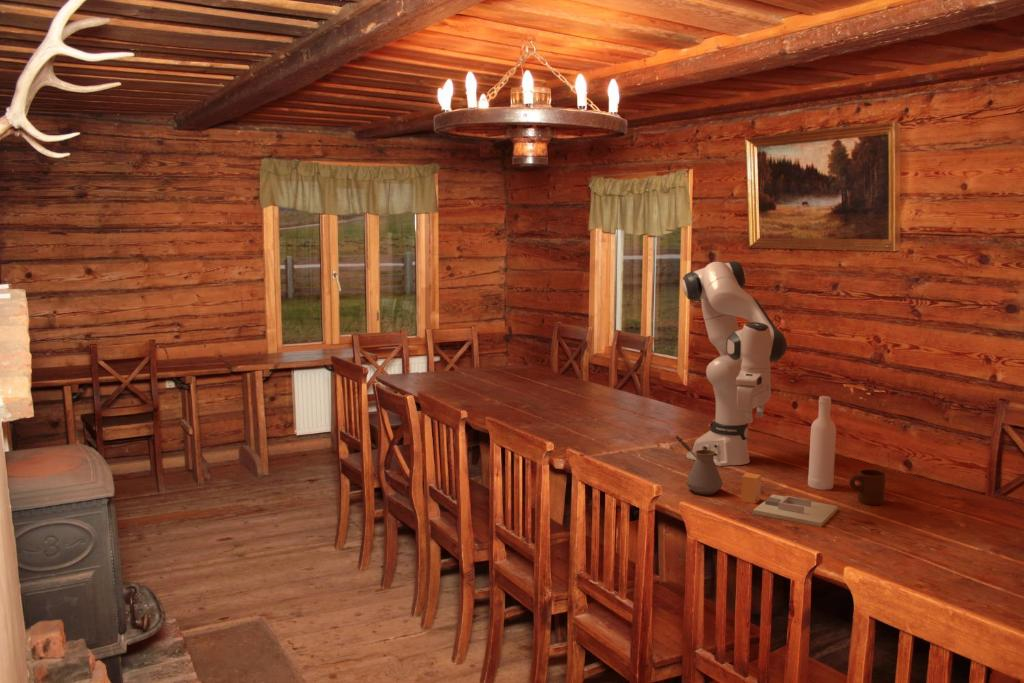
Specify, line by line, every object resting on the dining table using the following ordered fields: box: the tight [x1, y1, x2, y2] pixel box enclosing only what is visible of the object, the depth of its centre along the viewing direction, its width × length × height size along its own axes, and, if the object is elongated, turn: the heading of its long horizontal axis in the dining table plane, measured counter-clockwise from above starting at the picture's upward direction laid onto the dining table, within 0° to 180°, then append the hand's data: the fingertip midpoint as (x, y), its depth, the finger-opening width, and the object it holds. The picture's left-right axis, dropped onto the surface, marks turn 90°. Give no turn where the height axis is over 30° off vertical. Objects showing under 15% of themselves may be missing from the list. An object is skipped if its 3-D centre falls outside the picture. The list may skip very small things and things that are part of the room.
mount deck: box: [752, 494, 839, 528], centre depth 270 cm, size 20×18×3 cm
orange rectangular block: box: [740, 472, 762, 504], centre depth 280 cm, size 4×4×8 cm
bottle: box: [807, 395, 837, 491], centre depth 293 cm, size 8×8×30 cm
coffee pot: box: [672, 435, 723, 495], centre depth 293 cm, size 21×12×15 cm, turn 27°
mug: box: [848, 469, 886, 506], centre depth 278 cm, size 12×8×9 cm, turn 108°
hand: (754, 420), depth 277 cm, fingers open, 8 cm apart
